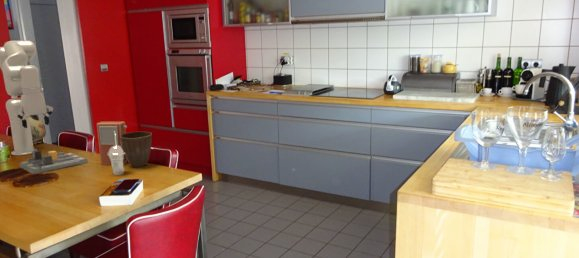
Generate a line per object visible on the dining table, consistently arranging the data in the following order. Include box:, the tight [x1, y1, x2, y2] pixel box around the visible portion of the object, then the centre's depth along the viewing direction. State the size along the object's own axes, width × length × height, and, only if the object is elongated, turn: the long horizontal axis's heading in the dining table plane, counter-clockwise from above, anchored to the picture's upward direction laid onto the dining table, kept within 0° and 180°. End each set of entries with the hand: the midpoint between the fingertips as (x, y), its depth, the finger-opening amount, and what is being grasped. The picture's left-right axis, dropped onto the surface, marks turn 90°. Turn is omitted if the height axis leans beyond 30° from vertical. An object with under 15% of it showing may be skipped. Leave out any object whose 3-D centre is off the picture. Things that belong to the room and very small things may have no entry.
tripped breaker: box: [47, 150, 59, 160], centre depth 225 cm, size 4×5×5 cm
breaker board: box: [18, 149, 88, 175], centre depth 225 cm, size 22×26×7 cm
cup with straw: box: [107, 131, 126, 176], centre depth 207 cm, size 8×9×20 cm
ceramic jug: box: [26, 115, 47, 145], centre depth 272 cm, size 17×15×30 cm
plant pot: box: [120, 131, 153, 168], centre depth 220 cm, size 15×15×16 cm
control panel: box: [96, 121, 129, 165], centre depth 225 cm, size 21×7×15 cm
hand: (36, 126), depth 217 cm, fingers open, 9 cm apart
